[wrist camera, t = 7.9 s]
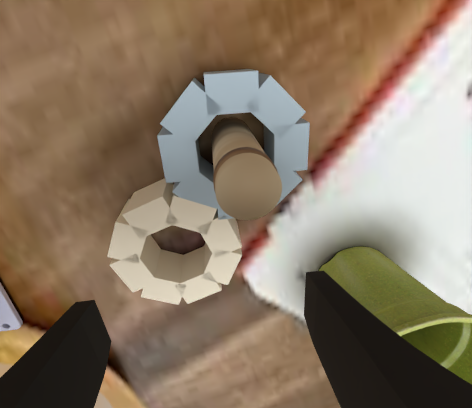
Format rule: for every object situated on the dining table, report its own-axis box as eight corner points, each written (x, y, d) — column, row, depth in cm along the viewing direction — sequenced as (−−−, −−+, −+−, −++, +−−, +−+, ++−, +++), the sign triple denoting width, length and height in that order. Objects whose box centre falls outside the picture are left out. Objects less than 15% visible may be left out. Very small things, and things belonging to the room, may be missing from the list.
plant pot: (295, 233, 21) (347, 334, 13) (417, 219, 21) (537, 308, 14) (293, 322, 25) (332, 437, 17) (395, 308, 26) (477, 415, 18)
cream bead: (160, 286, 22) (153, 317, 19) (99, 207, 18) (82, 232, 16) (250, 248, 21) (257, 276, 18) (205, 159, 18) (205, 177, 15)
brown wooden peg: (212, 159, 18) (217, 224, 11) (208, 118, 17) (210, 161, 10) (252, 155, 18) (283, 217, 11) (250, 114, 17) (283, 153, 10)
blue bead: (178, 201, 19) (173, 224, 16) (156, 75, 15) (146, 78, 13) (291, 190, 19) (304, 211, 17) (294, 65, 16) (312, 66, 13)
